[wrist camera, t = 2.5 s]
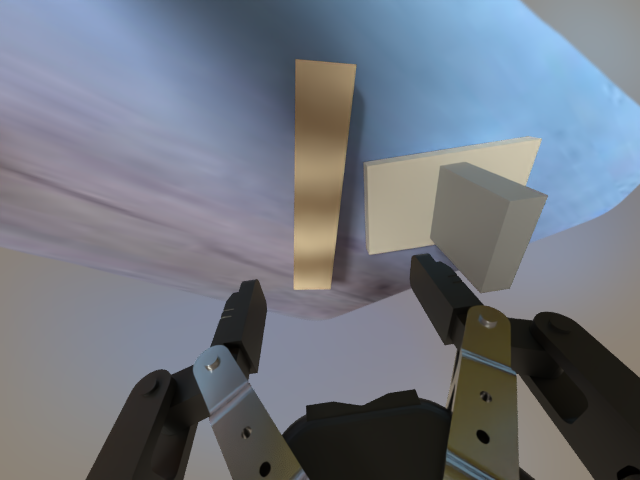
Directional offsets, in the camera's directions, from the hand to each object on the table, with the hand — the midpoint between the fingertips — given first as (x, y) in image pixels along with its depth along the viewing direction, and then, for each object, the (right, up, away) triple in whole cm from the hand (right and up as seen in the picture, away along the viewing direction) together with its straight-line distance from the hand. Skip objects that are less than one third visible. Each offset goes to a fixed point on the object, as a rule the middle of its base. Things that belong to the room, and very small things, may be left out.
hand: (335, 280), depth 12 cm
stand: (+12, +7, +13) cm, 19 cm away
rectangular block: (-1, +7, +12) cm, 14 cm away
